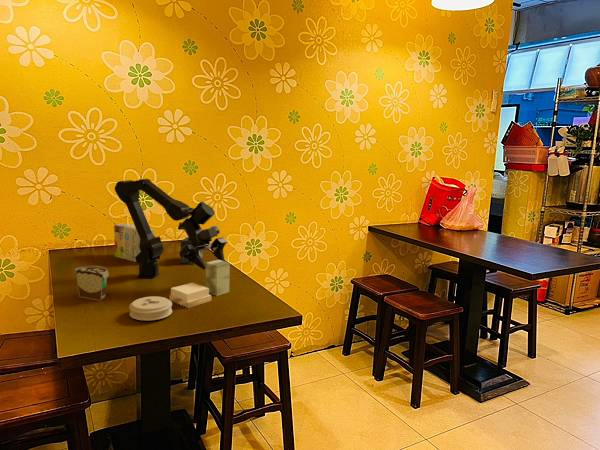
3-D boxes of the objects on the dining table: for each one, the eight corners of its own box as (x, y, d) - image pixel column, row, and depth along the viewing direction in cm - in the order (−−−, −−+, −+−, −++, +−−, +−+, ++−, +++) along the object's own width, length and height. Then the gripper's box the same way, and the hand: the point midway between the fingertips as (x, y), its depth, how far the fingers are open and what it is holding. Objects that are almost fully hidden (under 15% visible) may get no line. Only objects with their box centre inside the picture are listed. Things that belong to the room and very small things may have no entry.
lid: (177, 318, 140) (177, 303, 140) (135, 326, 134) (134, 310, 133) (165, 305, 151) (165, 291, 150) (125, 312, 144) (125, 297, 143)
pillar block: (205, 291, 165) (205, 262, 163) (218, 288, 170) (218, 259, 168) (216, 295, 162) (217, 265, 160) (229, 291, 166) (229, 262, 164)
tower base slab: (169, 302, 155) (169, 295, 155) (192, 295, 163) (192, 288, 162) (188, 309, 149) (188, 302, 149) (211, 302, 157) (211, 295, 156)
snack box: (155, 262, 200) (154, 229, 197) (144, 265, 195) (144, 230, 193) (124, 254, 211) (123, 222, 208) (113, 256, 207) (112, 224, 204)
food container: (117, 296, 157) (116, 268, 155) (104, 301, 151) (103, 272, 149) (89, 291, 161) (88, 263, 159) (75, 296, 155) (74, 268, 153)
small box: (193, 264, 199) (193, 241, 197) (179, 263, 201) (179, 240, 199) (203, 258, 210) (203, 236, 208) (190, 257, 211) (190, 235, 209)
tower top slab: (170, 295, 155) (170, 288, 154) (192, 289, 162) (192, 282, 161) (187, 301, 149) (187, 294, 149) (208, 295, 156) (208, 288, 156)
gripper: (184, 222, 158) (205, 258, 154) (223, 216, 173) (244, 249, 168) (170, 240, 164) (190, 276, 160) (210, 233, 179) (229, 266, 174)
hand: (214, 266), depth 165 cm, fingers open, 9 cm apart
